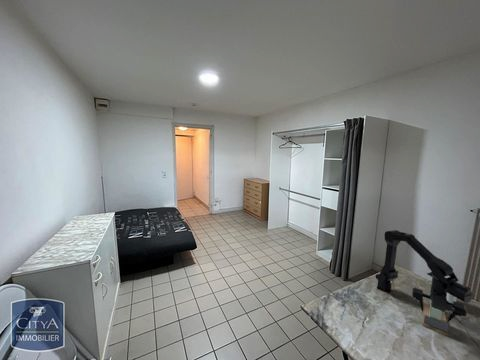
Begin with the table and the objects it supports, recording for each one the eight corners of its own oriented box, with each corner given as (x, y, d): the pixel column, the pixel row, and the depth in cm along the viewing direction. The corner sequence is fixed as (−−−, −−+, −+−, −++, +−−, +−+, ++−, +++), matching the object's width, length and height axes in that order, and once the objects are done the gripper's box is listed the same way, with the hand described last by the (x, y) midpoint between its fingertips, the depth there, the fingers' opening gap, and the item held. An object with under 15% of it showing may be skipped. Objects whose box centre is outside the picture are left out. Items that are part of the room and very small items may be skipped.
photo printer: (446, 296, 117) (449, 277, 115) (457, 300, 113) (460, 281, 111) (442, 303, 111) (445, 283, 109) (453, 308, 107) (456, 288, 106)
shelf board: (422, 325, 97) (422, 323, 97) (421, 302, 111) (422, 301, 111) (448, 336, 91) (448, 334, 91) (444, 311, 105) (444, 309, 105)
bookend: (423, 322, 97) (424, 315, 96) (423, 321, 98) (424, 314, 97) (446, 332, 91) (448, 325, 91) (446, 331, 92) (447, 324, 92)
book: (429, 323, 96) (432, 307, 95) (429, 314, 102) (431, 298, 101) (439, 328, 94) (442, 311, 93) (438, 317, 100) (440, 302, 99)
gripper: (413, 287, 96) (410, 315, 98) (471, 307, 83) (465, 338, 86) (414, 276, 104) (410, 302, 106) (466, 293, 91) (461, 322, 94)
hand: (435, 315), depth 98 cm, fingers open, 9 cm apart
